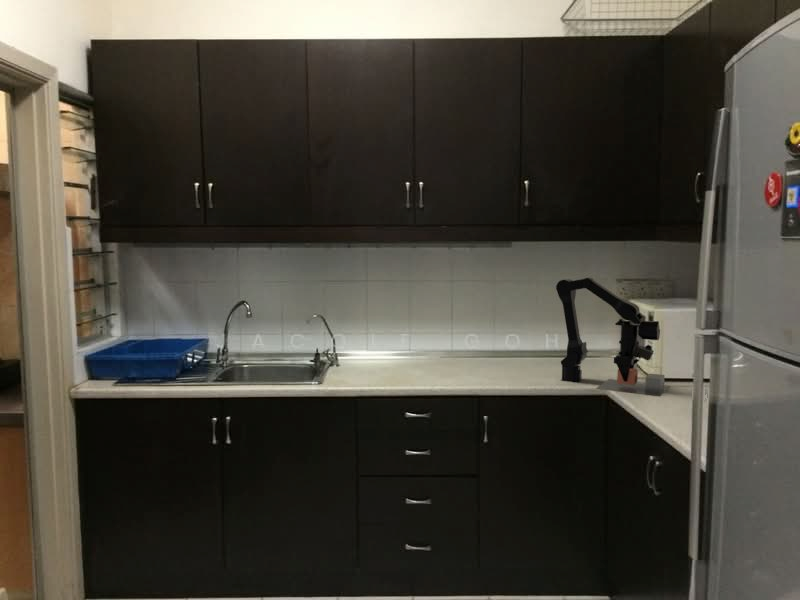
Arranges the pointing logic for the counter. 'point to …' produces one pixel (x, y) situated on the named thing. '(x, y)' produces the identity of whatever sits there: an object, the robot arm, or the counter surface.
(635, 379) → the block
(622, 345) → the robot arm
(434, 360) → the counter surface
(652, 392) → the coupler
